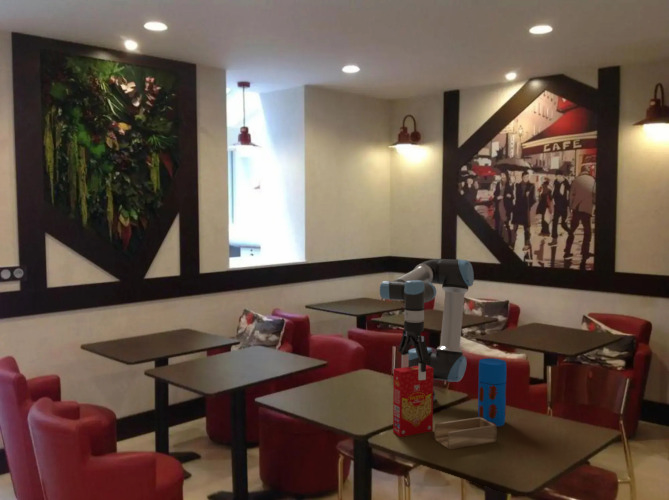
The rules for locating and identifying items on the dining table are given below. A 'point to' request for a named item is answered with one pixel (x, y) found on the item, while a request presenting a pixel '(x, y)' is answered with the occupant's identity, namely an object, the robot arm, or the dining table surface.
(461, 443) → the u rest
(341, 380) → the dining table surface
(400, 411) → the food packaging
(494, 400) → the thermos
